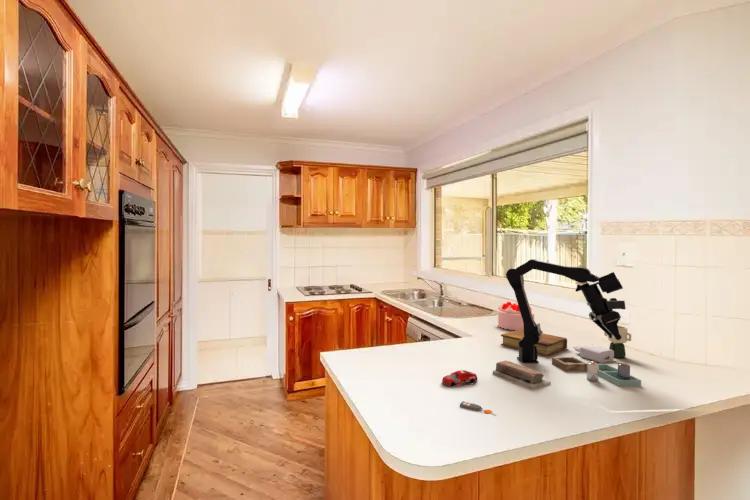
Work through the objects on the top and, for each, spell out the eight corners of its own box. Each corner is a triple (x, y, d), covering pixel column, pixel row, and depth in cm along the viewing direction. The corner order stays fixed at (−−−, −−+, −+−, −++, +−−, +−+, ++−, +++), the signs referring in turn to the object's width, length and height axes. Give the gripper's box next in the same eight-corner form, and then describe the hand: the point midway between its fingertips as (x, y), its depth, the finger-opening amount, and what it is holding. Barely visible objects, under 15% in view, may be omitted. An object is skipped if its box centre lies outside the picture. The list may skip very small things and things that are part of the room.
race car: (447, 388, 127) (447, 377, 127) (439, 383, 132) (439, 371, 132) (479, 383, 131) (480, 372, 131) (470, 378, 136) (471, 367, 136)
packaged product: (491, 362, 141) (509, 358, 146) (491, 374, 141) (509, 370, 146) (532, 377, 125) (551, 372, 130) (532, 391, 125) (551, 385, 130)
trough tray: (618, 387, 127) (619, 380, 127) (586, 370, 144) (586, 364, 144) (641, 387, 128) (641, 380, 128) (606, 370, 145) (606, 363, 145)
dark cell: (622, 385, 129) (622, 364, 129) (614, 381, 132) (615, 361, 132) (632, 384, 129) (632, 364, 129) (624, 380, 133) (624, 361, 132)
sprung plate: (566, 368, 144) (566, 366, 144) (557, 363, 150) (557, 361, 150) (581, 368, 145) (581, 366, 145) (571, 363, 151) (571, 361, 151)
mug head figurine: (599, 354, 166) (600, 325, 165) (608, 352, 169) (608, 323, 169) (626, 361, 156) (627, 330, 156) (634, 358, 160) (635, 328, 160)
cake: (530, 333, 204) (530, 307, 204) (493, 328, 215) (493, 303, 215) (536, 326, 221) (537, 302, 220) (502, 322, 232) (502, 299, 231)
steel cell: (591, 383, 131) (591, 363, 131) (584, 379, 135) (584, 360, 135) (600, 383, 132) (601, 363, 132) (593, 379, 135) (594, 360, 135)
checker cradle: (564, 372, 143) (565, 363, 142) (551, 364, 152) (552, 356, 151) (587, 371, 143) (587, 363, 143) (573, 364, 152) (573, 356, 152)
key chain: (458, 408, 112) (458, 403, 112) (463, 404, 115) (463, 399, 115) (502, 420, 105) (502, 415, 105) (506, 415, 108) (506, 410, 108)
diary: (567, 350, 174) (567, 337, 174) (547, 357, 163) (548, 344, 162) (521, 339, 192) (521, 328, 192) (500, 345, 180) (500, 333, 180)
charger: (581, 351, 171) (613, 360, 158) (567, 353, 168) (599, 363, 154) (581, 340, 171) (614, 349, 158) (567, 343, 167) (599, 352, 154)
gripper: (624, 290, 133) (647, 332, 129) (608, 290, 150) (628, 327, 147) (592, 301, 135) (613, 343, 132) (580, 300, 153) (599, 336, 150)
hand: (614, 337), depth 140 cm, fingers open, 9 cm apart
